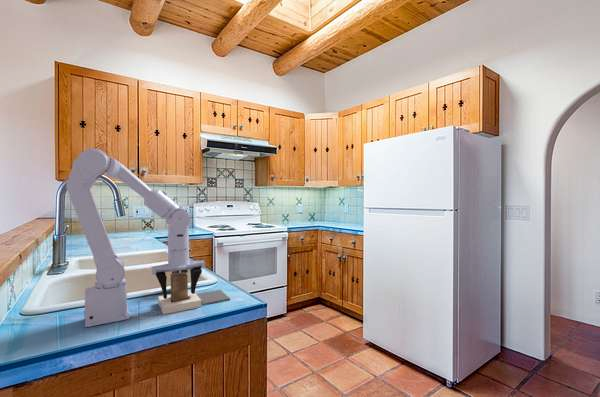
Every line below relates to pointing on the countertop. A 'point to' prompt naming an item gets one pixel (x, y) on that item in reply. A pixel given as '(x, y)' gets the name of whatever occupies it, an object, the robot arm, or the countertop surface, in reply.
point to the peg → (179, 287)
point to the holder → (178, 303)
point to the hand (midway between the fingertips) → (179, 295)
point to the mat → (212, 297)
